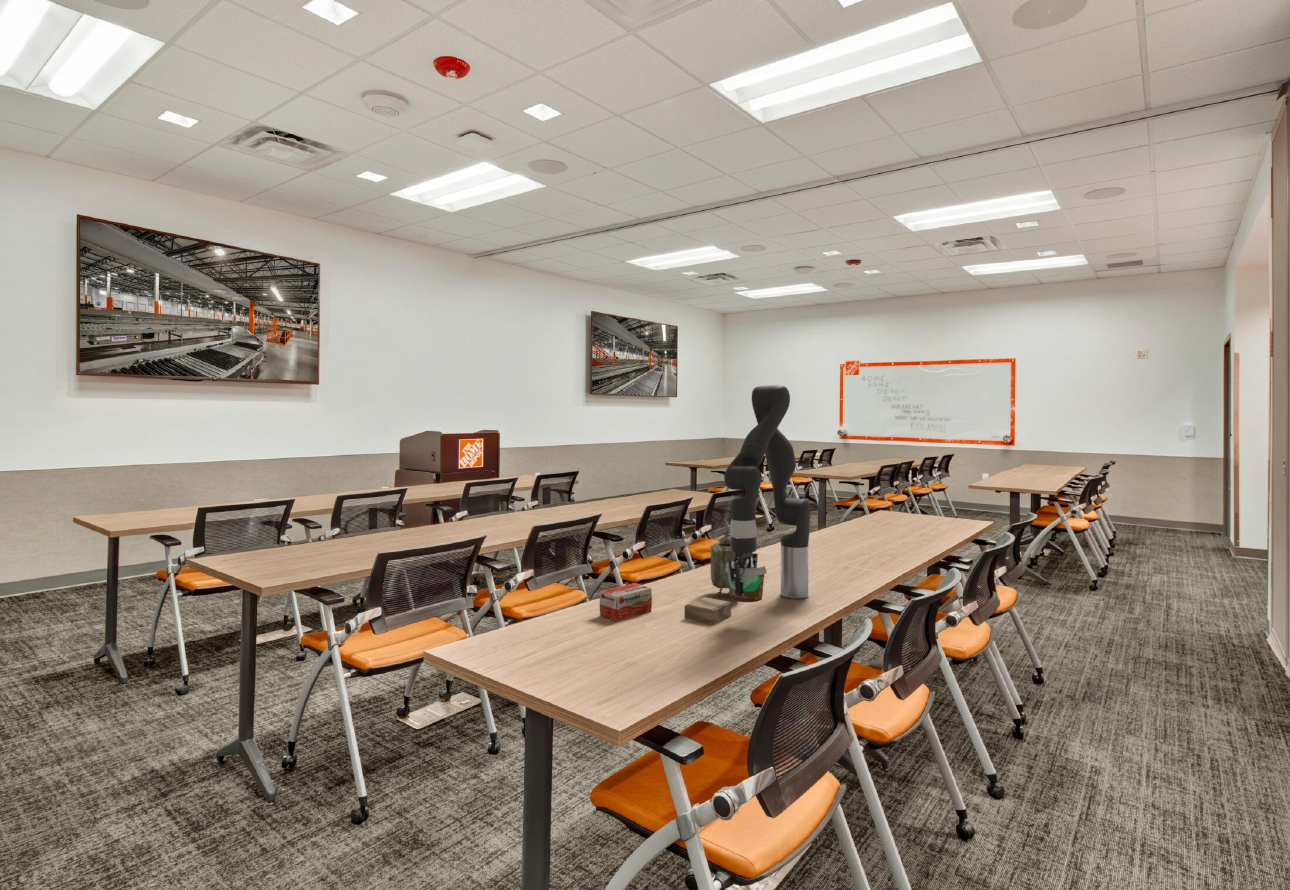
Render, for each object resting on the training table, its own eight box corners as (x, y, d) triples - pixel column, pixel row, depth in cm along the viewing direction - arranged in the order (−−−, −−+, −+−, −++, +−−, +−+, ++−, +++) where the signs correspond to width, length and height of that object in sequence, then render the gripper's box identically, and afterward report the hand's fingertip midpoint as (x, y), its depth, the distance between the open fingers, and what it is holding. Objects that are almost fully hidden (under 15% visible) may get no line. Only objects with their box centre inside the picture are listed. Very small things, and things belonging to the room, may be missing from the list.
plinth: (703, 609, 206) (703, 596, 206) (731, 615, 200) (731, 601, 200) (684, 618, 197) (684, 604, 197) (713, 624, 191) (713, 610, 191)
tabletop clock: (741, 601, 215) (741, 526, 214) (714, 601, 215) (714, 526, 214) (736, 590, 230) (736, 520, 229) (710, 590, 230) (710, 520, 229)
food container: (719, 600, 189) (719, 566, 189) (726, 595, 195) (726, 561, 194) (760, 605, 184) (760, 570, 183) (766, 600, 189) (766, 566, 189)
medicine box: (616, 622, 195) (616, 596, 194) (599, 616, 200) (598, 591, 200) (652, 611, 205) (652, 586, 205) (635, 606, 211) (634, 582, 211)
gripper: (743, 529, 197) (743, 584, 198) (719, 537, 185) (720, 596, 186) (766, 531, 192) (766, 588, 193) (743, 540, 181) (744, 600, 182)
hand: (743, 591), depth 190 cm, fingers closed on food container, 5 cm apart
